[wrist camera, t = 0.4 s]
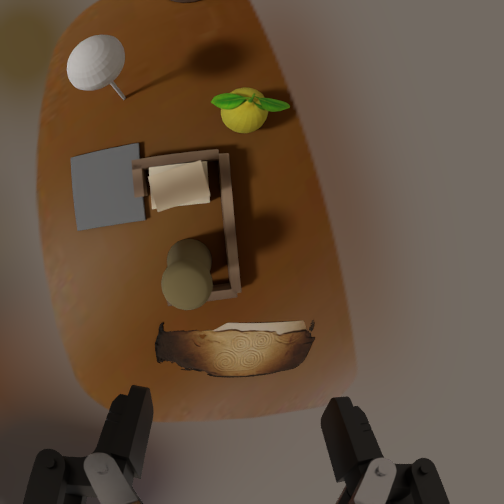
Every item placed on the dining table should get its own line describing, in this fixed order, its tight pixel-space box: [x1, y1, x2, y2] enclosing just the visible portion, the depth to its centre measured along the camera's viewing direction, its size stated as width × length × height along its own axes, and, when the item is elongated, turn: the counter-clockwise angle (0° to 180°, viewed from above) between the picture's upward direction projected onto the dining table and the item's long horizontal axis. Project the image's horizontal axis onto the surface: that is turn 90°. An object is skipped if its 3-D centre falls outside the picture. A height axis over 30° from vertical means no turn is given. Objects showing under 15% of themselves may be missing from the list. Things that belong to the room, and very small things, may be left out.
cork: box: [161, 239, 213, 310], centre depth 31 cm, size 6×6×11 cm
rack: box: [131, 149, 241, 306], centre depth 34 cm, size 19×12×2 cm, turn 5°
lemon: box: [211, 88, 290, 133], centre depth 28 cm, size 7×6×10 cm
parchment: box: [155, 320, 315, 377], centre depth 40 cm, size 25×10×1 cm, turn 85°
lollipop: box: [67, 35, 126, 100], centre depth 22 cm, size 6×6×15 cm
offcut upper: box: [148, 160, 210, 212], centre depth 30 cm, size 4×6×3 cm, turn 105°
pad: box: [71, 143, 146, 231], centre depth 31 cm, size 10×10×1 cm
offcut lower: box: [149, 161, 210, 209], centre depth 32 cm, size 5×7×3 cm
